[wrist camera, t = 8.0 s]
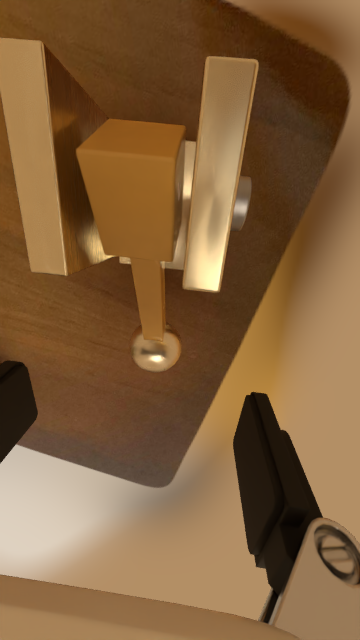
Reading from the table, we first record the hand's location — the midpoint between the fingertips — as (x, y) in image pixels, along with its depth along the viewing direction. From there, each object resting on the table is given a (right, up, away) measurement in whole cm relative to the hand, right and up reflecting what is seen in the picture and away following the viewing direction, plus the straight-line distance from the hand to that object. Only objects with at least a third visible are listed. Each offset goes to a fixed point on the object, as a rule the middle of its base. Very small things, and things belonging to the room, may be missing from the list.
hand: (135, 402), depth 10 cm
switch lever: (+1, +6, +2) cm, 6 cm away
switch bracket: (+2, +12, +7) cm, 14 cm away
